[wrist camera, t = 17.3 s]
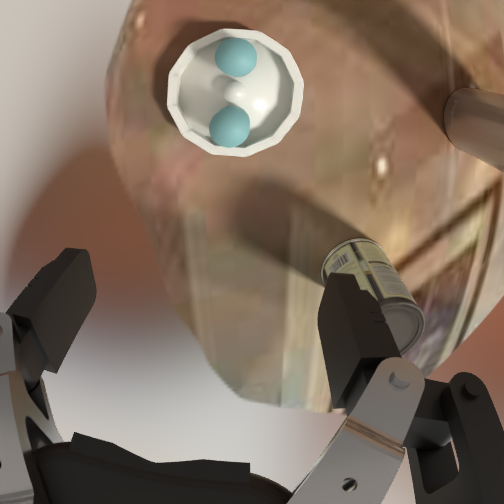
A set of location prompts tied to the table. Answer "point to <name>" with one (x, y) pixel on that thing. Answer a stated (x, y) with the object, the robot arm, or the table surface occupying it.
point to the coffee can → (379, 287)
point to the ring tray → (235, 92)
